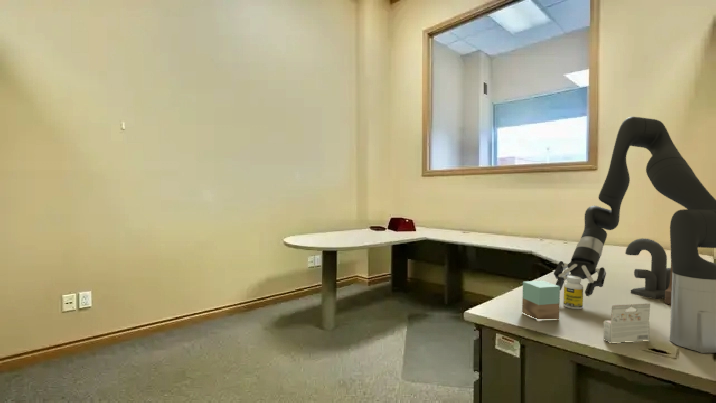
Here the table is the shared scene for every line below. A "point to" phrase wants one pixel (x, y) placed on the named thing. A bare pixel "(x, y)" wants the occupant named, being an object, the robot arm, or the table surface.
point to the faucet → (659, 273)
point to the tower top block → (541, 292)
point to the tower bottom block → (540, 310)
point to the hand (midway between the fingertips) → (572, 291)
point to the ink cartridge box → (628, 323)
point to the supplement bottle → (573, 293)
